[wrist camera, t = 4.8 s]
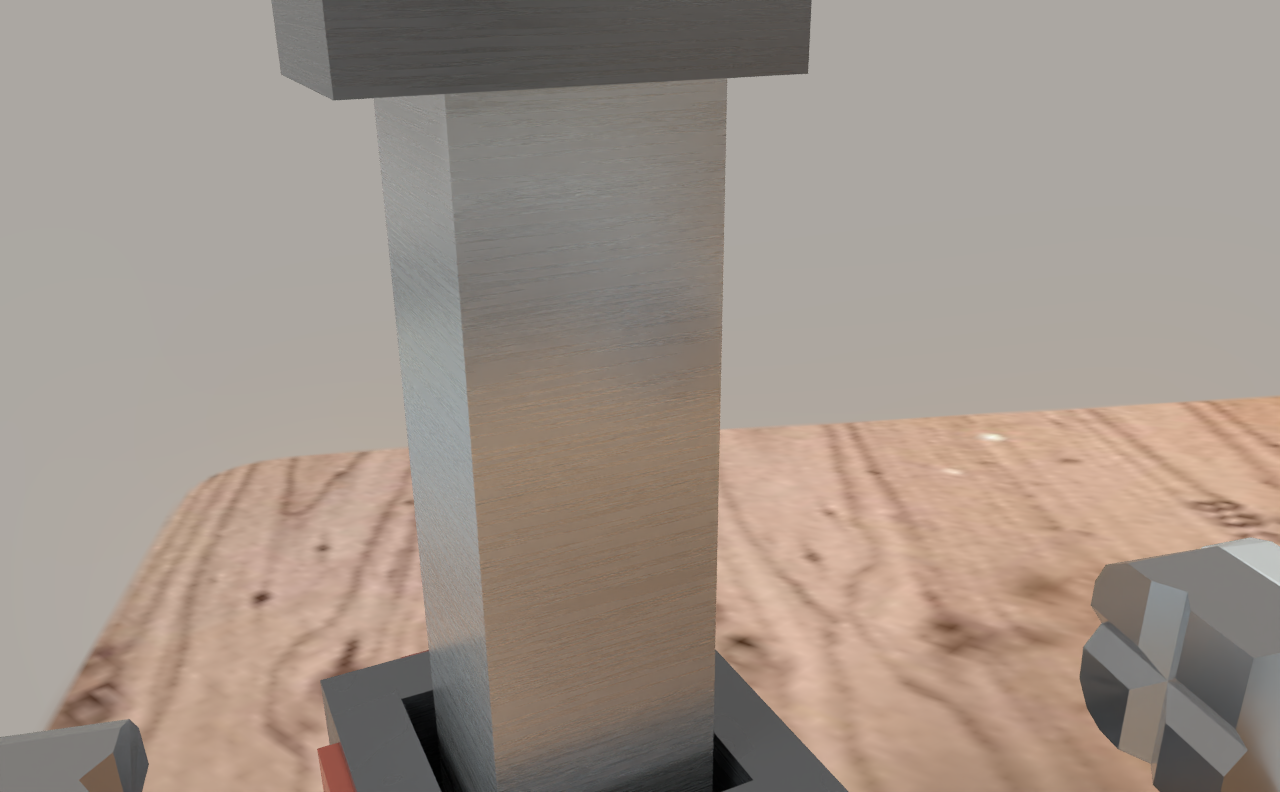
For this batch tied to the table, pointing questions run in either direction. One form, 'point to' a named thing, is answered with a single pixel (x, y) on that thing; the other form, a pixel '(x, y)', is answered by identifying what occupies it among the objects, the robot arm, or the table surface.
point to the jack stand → (409, 752)
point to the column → (558, 357)
